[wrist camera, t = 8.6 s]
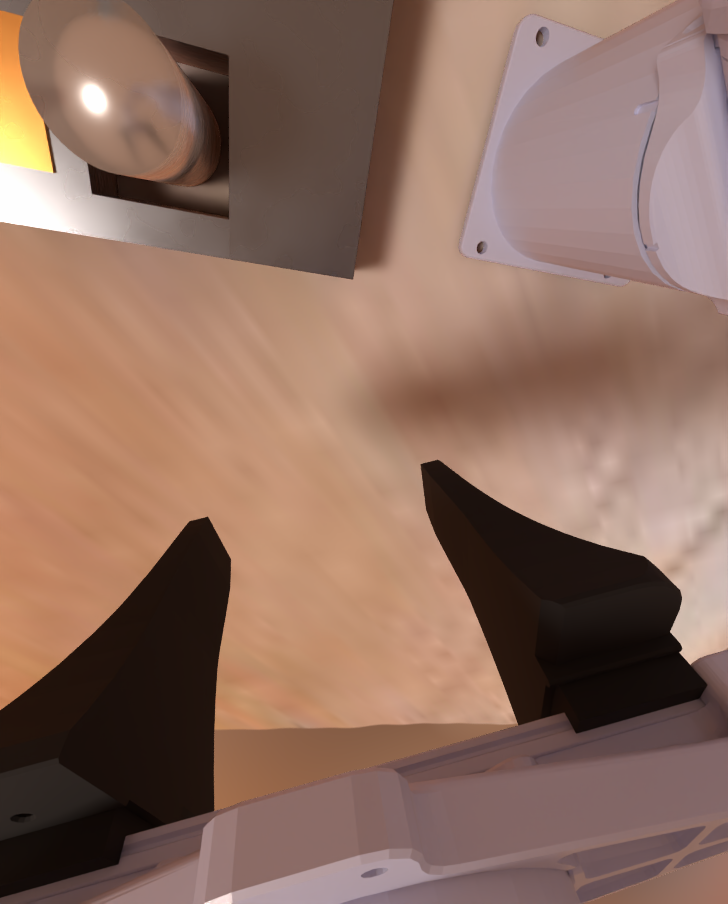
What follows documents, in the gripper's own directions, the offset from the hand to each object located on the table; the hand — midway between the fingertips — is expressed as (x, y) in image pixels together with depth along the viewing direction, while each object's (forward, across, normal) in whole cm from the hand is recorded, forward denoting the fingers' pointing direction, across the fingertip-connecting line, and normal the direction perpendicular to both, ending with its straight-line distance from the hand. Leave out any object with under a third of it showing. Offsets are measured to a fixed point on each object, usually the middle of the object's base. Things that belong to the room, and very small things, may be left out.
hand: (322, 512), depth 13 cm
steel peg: (+9, +2, -12) cm, 15 cm away
